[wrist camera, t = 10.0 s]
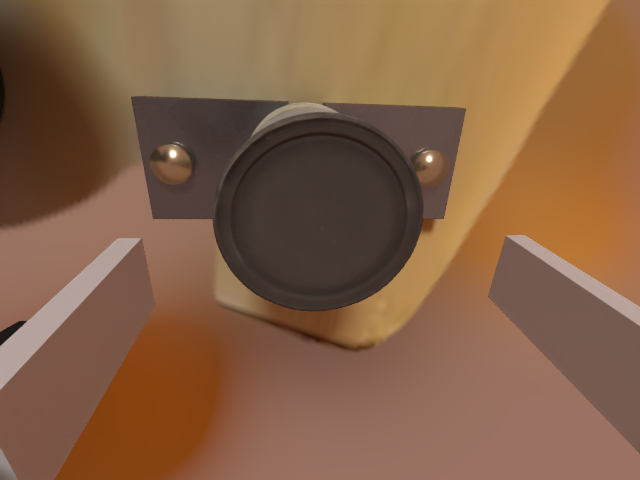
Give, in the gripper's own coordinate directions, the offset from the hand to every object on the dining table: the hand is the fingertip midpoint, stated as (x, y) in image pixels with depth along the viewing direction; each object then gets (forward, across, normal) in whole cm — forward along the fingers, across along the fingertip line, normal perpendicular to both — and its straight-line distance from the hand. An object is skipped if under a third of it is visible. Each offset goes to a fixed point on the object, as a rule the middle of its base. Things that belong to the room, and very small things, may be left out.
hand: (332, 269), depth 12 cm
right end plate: (+20, +8, 0) cm, 22 cm away
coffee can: (+19, 0, 0) cm, 19 cm away
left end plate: (+20, -7, 0) cm, 22 cm away
